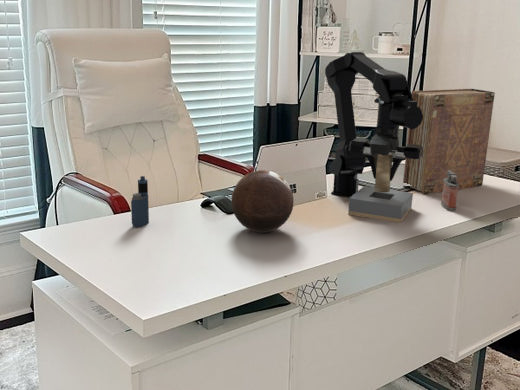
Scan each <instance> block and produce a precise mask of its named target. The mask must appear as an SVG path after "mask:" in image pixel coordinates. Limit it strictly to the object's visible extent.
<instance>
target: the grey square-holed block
mask: <svg viewBox="0 0 520 390" xmlns="http://www.w3.org/2000/svg"><path fill="white" fill-rule="evenodd" d="M413 195H414V193H413V192H407V191H401V190H394V189H390V191H389V192H377V191H375V186H374V187H373V186H367V185H363V186H362V187H361V188H360V189H358V191H357V192H356V193H355V194H354V195H353V196H352V197H349V198H348V199H349V200H348V213H347V214H348V215H350V216H357V217H363V218H369V219H375V220H382V221H386V222H393V223H398V224H399V223H402V221H403V220H404V219H405V217H406V216H407V214H409V212H410V211H411V210H412V208H413V207H412V206H413V205H412V204H413V197H414V196H413Z"/></svg>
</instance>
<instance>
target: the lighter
mask: <svg viewBox="0 0 520 390" xmlns="http://www.w3.org/2000/svg"><path fill="white" fill-rule="evenodd" d="M447 175H448V176H449V177H448V178H444V188H443V192H442V196H441V199H440V205H441V207H442V208H443V209H445V211H448V212H456V211H457V200H458V192H459V189H458V188H459V183H458V182H457V181H456V179H457V176H456V173H453V172H452V171H447Z"/></svg>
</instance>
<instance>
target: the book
mask: <svg viewBox="0 0 520 390" xmlns="http://www.w3.org/2000/svg"><path fill="white" fill-rule="evenodd" d="M411 93H412V97H413V101H417V102H418V104H417V107H419V108H420V109H421V111H422V114H423V119H422V122H421V124H420V125H419V126H418V127H417V128H415V129H409V128H408V129H407V139H406V140H407V141H406V146H407V145H408V144H415V145H421V146H422V147H423V156H422V157H421V158H420V159H410V158H406V159H405V160H404V169H403V170H404V171H403V177H402V178H403V179H402V184H403V183H407V184H410V185H412V188H411V189H413V190H414V189H415V190H416V191H419V192H422V194H423V195H429V194H436V193H443V188H444V178H448V177H449V176H448V175H447V171H452V172H453V173H456V176H457V179H456V181H457V182H458V183H459V188H458V190H461V189H469V188H475V187H481V186H483V182H484V175H485V169H486V167H485V166H486V161H487V153H488V145H489V138H490V131H491V125H492V123H491V122H492V115H493V109H494V100H495V95H496V94H495V93H496V92H494V91H489V90H482V89H476V88H458V89H457V88H455V89H433V90H431V89H429V90H428V89H427V90H413V91H411Z"/></svg>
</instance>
